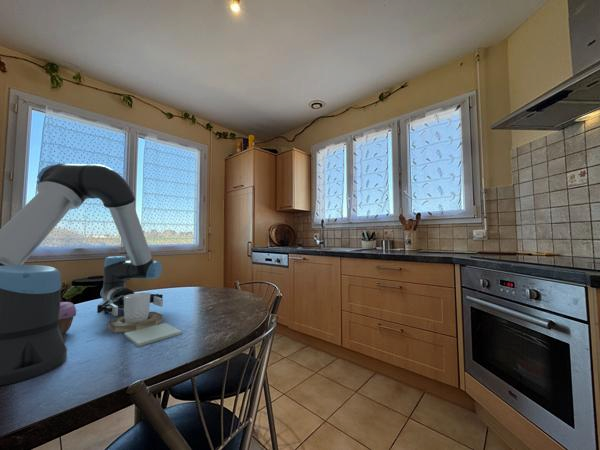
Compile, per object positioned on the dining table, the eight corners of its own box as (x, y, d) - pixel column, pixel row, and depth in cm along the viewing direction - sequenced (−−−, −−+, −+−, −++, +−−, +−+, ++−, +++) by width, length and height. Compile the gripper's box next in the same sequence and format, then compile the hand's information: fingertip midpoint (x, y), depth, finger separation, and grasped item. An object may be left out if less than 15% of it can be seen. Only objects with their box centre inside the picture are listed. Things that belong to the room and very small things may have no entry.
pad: (181, 333, 78) (181, 331, 78) (137, 346, 68) (138, 343, 68) (165, 325, 85) (165, 322, 85) (124, 335, 76) (124, 333, 76)
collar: (150, 330, 81) (150, 324, 81) (99, 333, 78) (100, 326, 78) (166, 316, 95) (166, 311, 95) (124, 318, 92) (124, 313, 92)
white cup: (140, 328, 82) (141, 297, 83) (116, 328, 83) (117, 297, 83) (154, 320, 90) (155, 292, 91) (133, 320, 90) (134, 292, 91)
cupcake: (28, 338, 74) (30, 304, 74) (62, 328, 82) (63, 297, 83) (50, 341, 72) (51, 306, 72) (82, 330, 80) (84, 299, 81)
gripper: (155, 300, 108) (177, 309, 94) (79, 314, 88) (93, 328, 75) (155, 283, 108) (177, 289, 94) (80, 293, 89) (94, 303, 75)
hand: (140, 306), depth 85 cm, fingers open, 13 cm apart
